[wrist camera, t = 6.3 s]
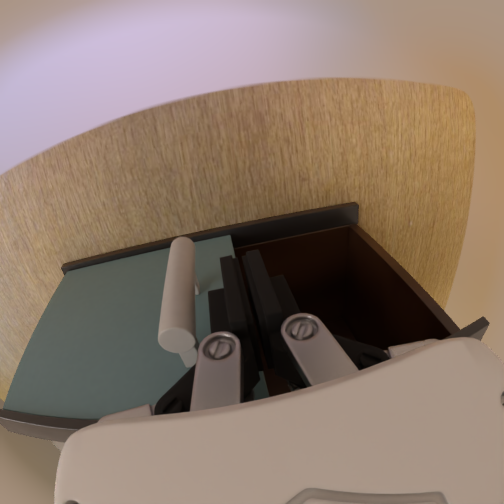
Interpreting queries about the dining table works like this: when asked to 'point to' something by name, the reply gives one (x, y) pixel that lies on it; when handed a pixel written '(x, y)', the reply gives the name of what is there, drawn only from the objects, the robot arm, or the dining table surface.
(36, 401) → the door
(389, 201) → the dining table surface
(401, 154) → the dining table surface
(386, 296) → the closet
